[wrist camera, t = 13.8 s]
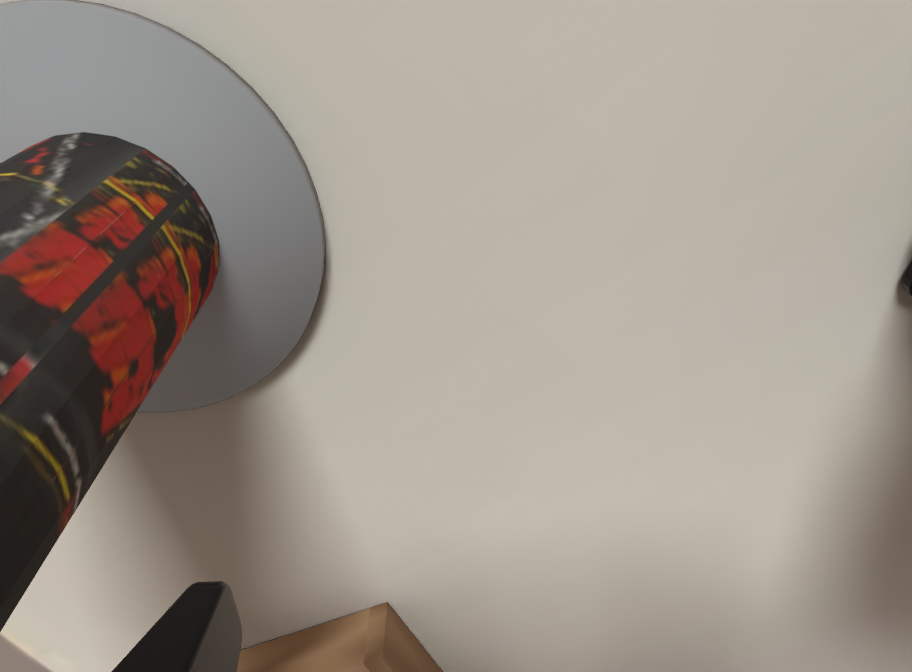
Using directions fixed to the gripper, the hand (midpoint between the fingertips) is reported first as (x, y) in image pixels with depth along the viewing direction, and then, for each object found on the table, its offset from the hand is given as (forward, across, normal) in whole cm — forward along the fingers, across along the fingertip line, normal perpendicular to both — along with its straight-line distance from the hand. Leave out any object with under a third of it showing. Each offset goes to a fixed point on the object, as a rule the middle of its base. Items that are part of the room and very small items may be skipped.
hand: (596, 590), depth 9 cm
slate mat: (+13, +11, 0) cm, 17 cm away
